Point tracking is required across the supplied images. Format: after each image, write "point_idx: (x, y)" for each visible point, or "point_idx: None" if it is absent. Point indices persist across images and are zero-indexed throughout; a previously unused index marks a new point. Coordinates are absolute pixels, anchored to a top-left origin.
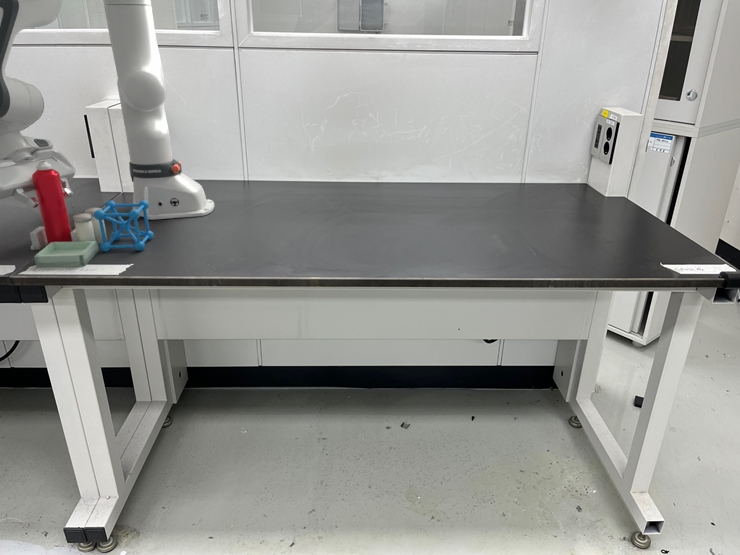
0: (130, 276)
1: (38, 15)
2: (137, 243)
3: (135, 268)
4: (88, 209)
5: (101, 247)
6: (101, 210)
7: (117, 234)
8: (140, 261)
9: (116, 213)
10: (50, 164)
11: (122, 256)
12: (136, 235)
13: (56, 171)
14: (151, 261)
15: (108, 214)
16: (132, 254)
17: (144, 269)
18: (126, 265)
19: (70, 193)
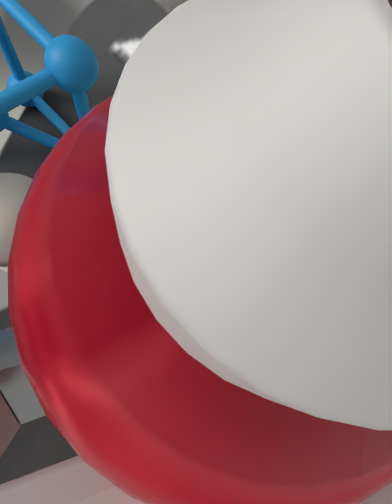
0: (162, 4)
1: None
2: (31, 75)
3: (127, 24)
4: (10, 246)
5: None
6: (55, 38)
7: (38, 130)
8: (89, 45)
9: (19, 4)
10: (127, 83)
11: (96, 103)
12: (16, 56)
13: (84, 125)
14: (72, 26)
15: (47, 30)
16: (68, 94)
17: (117, 7)
18: (129, 51)
19: (9, 329)
